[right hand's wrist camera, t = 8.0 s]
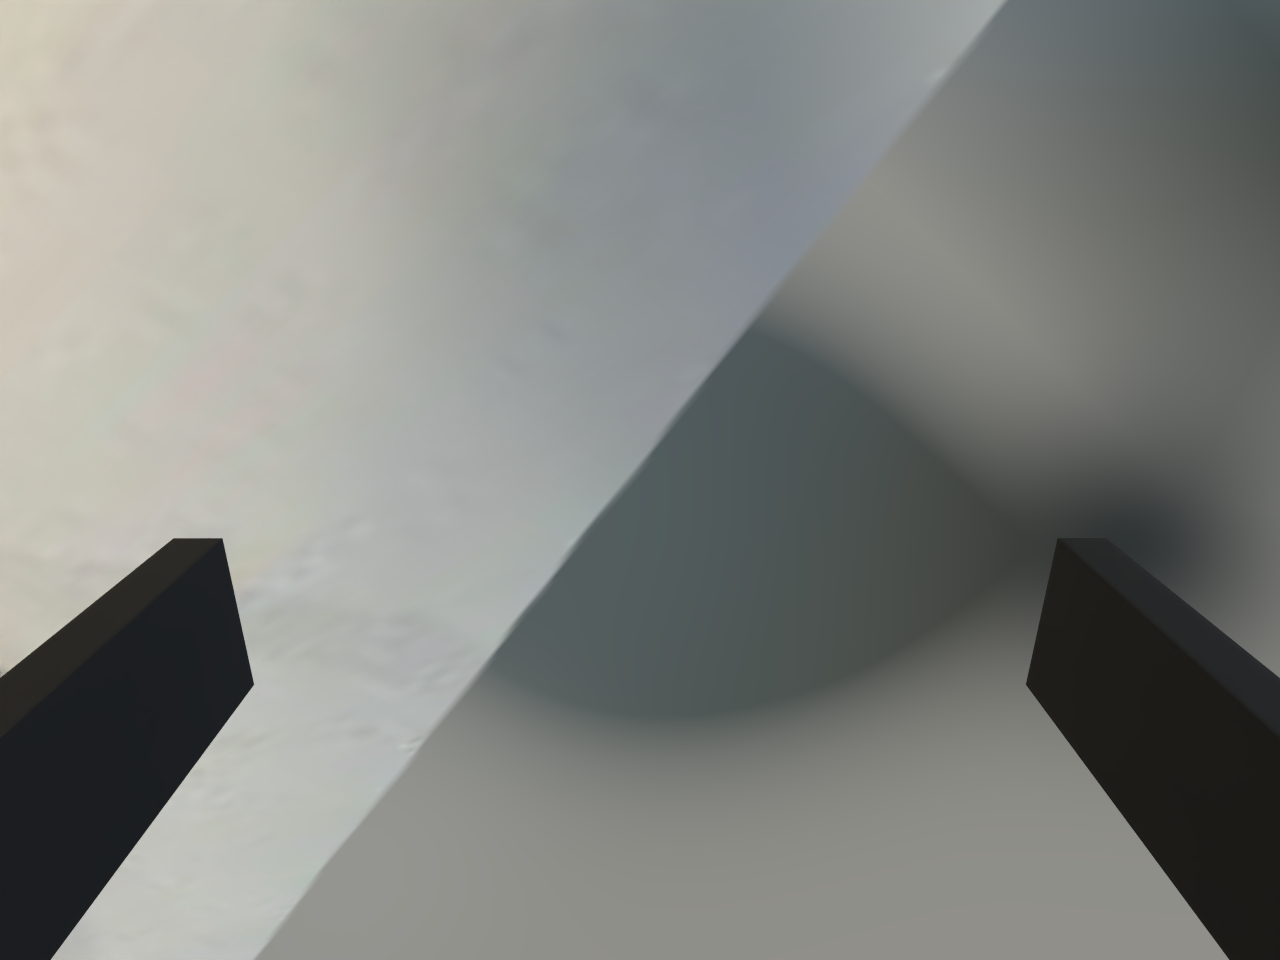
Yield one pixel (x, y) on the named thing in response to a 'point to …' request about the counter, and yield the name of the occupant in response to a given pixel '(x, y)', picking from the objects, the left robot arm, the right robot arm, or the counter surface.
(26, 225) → the counter surface
